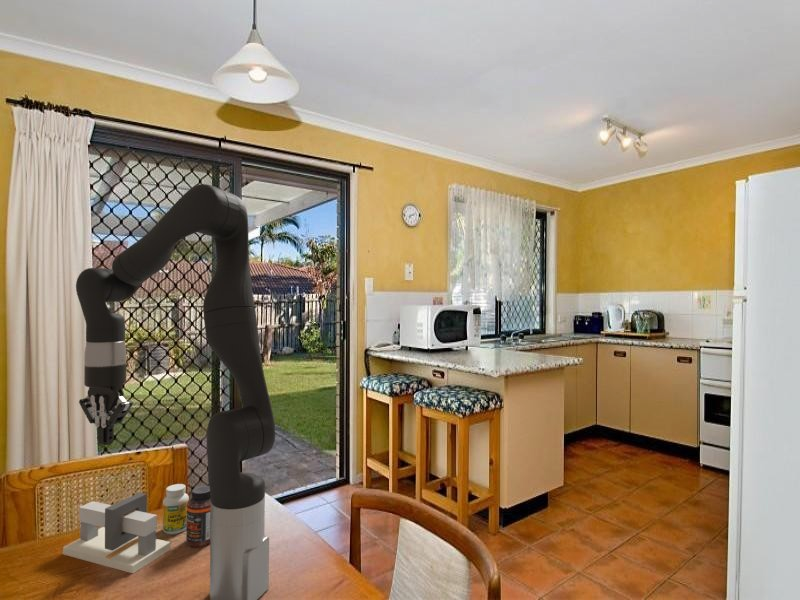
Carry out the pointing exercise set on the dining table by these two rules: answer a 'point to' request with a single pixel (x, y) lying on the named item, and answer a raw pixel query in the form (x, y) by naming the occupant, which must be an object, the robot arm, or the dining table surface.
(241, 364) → the robot arm
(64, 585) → the dining table surface
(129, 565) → the white bar stand
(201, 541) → the supplement bottle
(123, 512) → the collar
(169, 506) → the supplement bottle
